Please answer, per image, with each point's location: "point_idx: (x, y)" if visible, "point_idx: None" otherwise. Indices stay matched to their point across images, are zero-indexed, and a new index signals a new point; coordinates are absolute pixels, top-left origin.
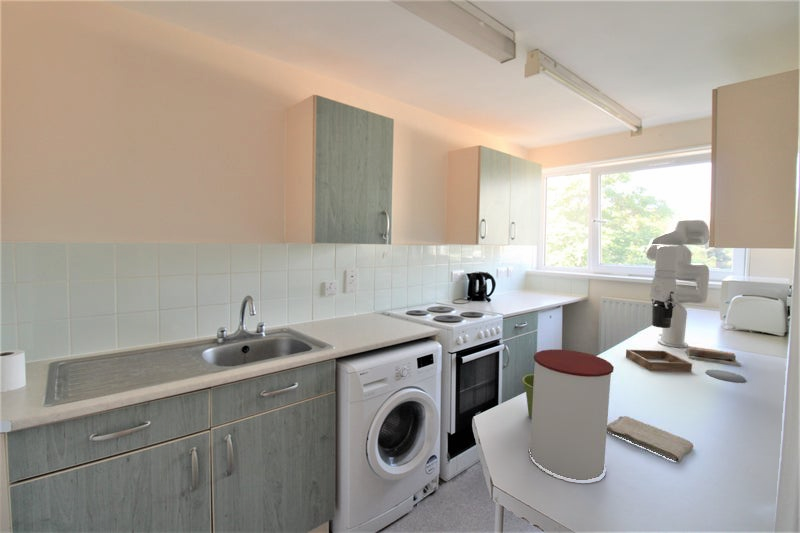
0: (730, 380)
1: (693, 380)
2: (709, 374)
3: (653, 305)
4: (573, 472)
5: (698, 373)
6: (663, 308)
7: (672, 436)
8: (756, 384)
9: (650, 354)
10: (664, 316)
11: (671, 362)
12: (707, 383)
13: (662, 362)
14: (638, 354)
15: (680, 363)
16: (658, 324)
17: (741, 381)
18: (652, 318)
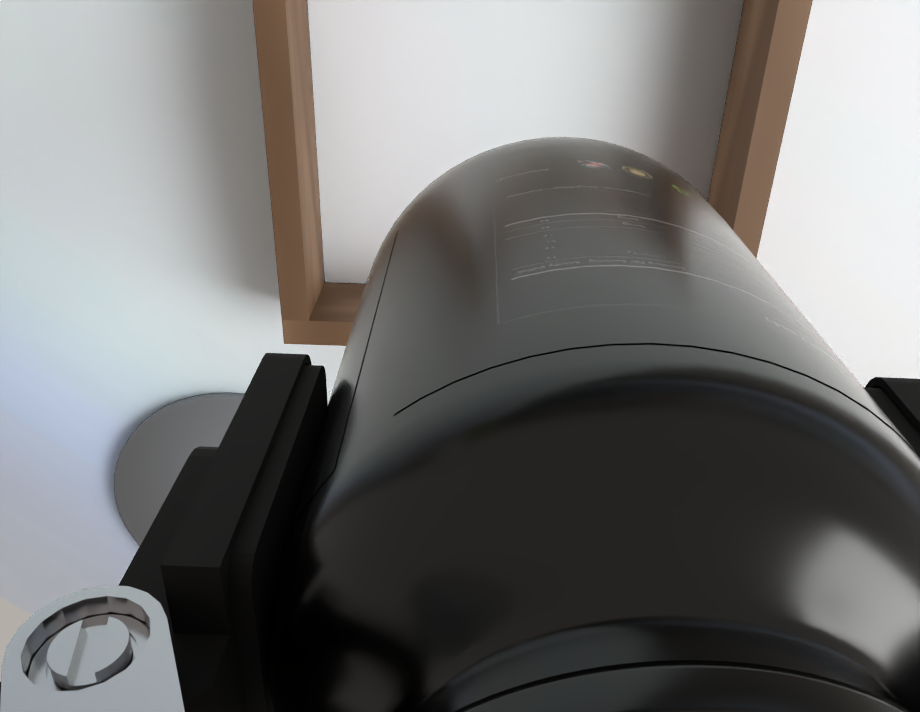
0: (119, 460)
1: (49, 156)
2: (227, 398)
3: (881, 486)
4: None
5: (274, 341)
6: (288, 560)
7: None
8: (110, 577)
9: (730, 169)
10: (262, 372)
11: (285, 137)
12: (3, 235)
13: (263, 11)
14: (758, 6)
15: (273, 226)
16: (430, 197)
17: (127, 522)
18: (646, 190)
